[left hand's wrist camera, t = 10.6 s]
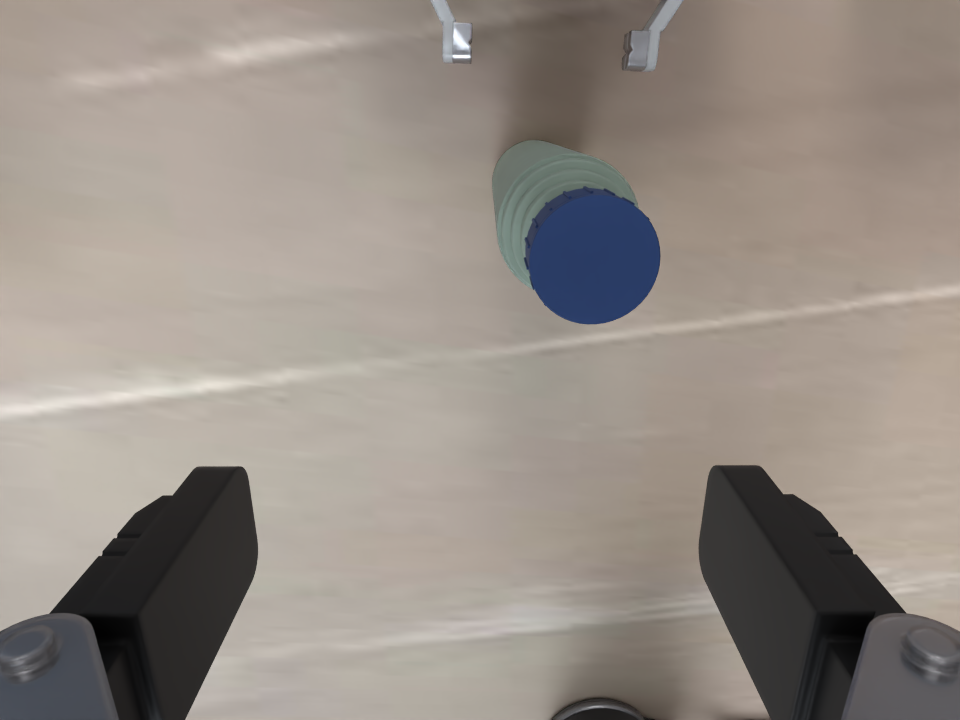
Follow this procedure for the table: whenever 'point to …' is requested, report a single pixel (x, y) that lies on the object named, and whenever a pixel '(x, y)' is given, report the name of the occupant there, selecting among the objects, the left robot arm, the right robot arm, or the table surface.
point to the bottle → (541, 190)
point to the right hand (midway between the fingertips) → (547, 67)
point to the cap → (591, 255)
